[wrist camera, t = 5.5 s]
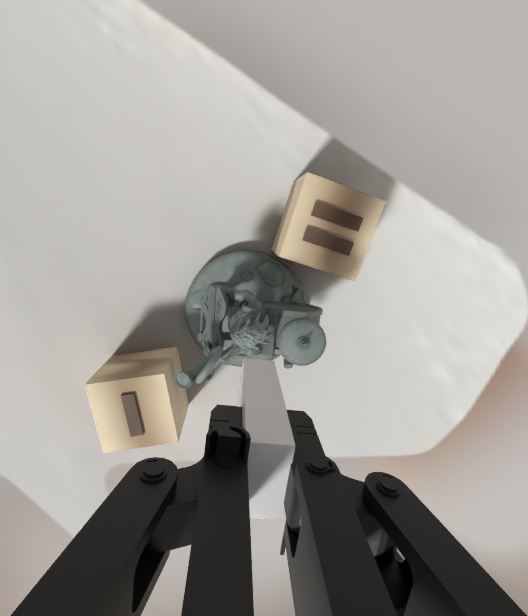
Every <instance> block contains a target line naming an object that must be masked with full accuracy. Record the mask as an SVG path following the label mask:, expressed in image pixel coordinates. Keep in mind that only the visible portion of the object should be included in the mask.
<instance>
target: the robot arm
mask: <svg viewBox="0 0 528 616" xmlns="http://www.w3.org/2000/svg"><path fill="white" fill-rule="evenodd" d="M284 507H285V512H286V524H285V529H284V534H283V539H282V545H281V552H280V554H281V555H284V552H285V547H286V552H287V558H288V566H289V572H290V580H291V587H292V593H293V601H294V607H295V614H296V616H527V615H526V614H525V613H524V612H523V611H522V610H521V609H520V608H519V607H518V605H517V604H516V603H515V602H514V601H513V600H512V599H511V598H510V597H509V596H508V595H507V594H506V593H505V591H504V590H503V589H502V588H501V587H500V586H499V585H498V584H497V583H496V582H495V581H494V580H493V578H491V576H490V575H489V574H488V573H487V572H486V571H485V570H484V569H483V568H482V567H481V566H480V565H479V563H478V562H477V561H476V560H475V559H474V558H473V557H472V556H471V555H470V554H469V553H468V552H467V551H466V549H465V548H464V547H463V546H462V545H461V544H460V543H459V542H458V541H457V540H456V539H455V538H454V536H453V535H452V534H451V533H450V532H449V531H448V530H447V529H446V528H445V527H444V526H443V524H442V523H441V522H440V521H439V520H438V519H437V518H436V517H435V516H434V515H433V514H432V513H431V512H430V510H429V509H428V508H427V507H426V506H425V505H424V504H423V503H422V502H421V501H420V500H419V499H418V497H417V496H415V494H414V493H413V492H412V491H411V490H410V489H409V488H408V487H407V486H406V485H405V484H404V483H403V482H402V481H401V480H399V479H397V478H396V477H394V476H392V475H390V474H387V473H383V472H373V473H370V474H368V475H367V477H366V478H365V482H361V481H358V480H355V479H352V478H348V477H346V476H344V475H342V474H340V471H339V469H338V467H337V465H336V464H335V463H334V462H333V461H332V460H331V459H329V458H328V457H326V456H325V454H324V451H323V448H322V446H321V443H320V440H319V438H318V435H317V432H316V430H315V428H314V424H313V422H312V419H311V418H310V417H309V416H308V415H307V414H306V413H305V412H304V411H294V410H286V406H285V403H284V399H283V395H282V391H281V387H280V383H279V379H278V375H277V371H276V367H275V363H274V361H272V360H262V359H253V358H243V364H242V371H241V379H240V386H239V394H238V401H237V406H227V405H217V406H216V407H215V408H214V409H213V410H212V411H211V417H210V424H209V430H208V433H207V435H206V444H205V453H204V457H203V458H202V459H201V460H200V461H199V462H198V463H196V464H194V465H192V466H189V467H185V468H180V469H177V467H176V465H175V464H173V462H172V461H170V460H167V459H165V458H157V457H154V458H148V459H144V460H142V461H140V462H138V463H136V464H135V465H134V466H133V467H132V468H131V469H130V470H129V471H128V473H127V474H126V475H125V476H124V478H123V479H122V480H121V481H120V482H119V483H118V485H117V486H116V487H115V488H114V490H113V491H112V492H111V493H110V495H109V496H108V497H107V498H106V499H105V501H104V502H103V503H102V504H101V506H100V507H99V508H98V509H97V510H96V512H95V513H94V514H93V515H92V517H91V518H90V519H89V520H88V521H87V523H86V524H85V525H84V526H83V528H82V529H81V530H80V531H79V532H78V534H77V535H76V536H75V537H74V539H73V540H72V541H71V542H70V544H69V545H68V546H67V547H66V549H65V550H64V551H63V552H62V553H61V555H60V556H59V557H58V558H57V560H56V561H55V562H54V563H53V564H52V566H51V567H50V568H49V570H47V572H46V573H45V574H44V576H43V577H42V578H41V579H40V580H39V582H38V583H37V584H36V586H34V588H33V589H32V590H31V591H30V593H29V594H28V595H27V596H26V597H25V599H24V600H23V601H22V603H21V604H20V605H19V606H18V607H17V608H16V610H15V611H14V612H13V613H12V615H11V616H141V613H142V611H143V609H144V607H145V605H146V603H147V601H148V599H149V597H150V595H151V592H152V590H153V588H154V586H155V584H156V582H157V580H158V578H159V576H160V574H161V571H162V569H163V567H164V565H165V563H166V561H167V559H168V557H169V553H170V550H173V549H176V548H180V547H184V546H187V545H191V544H192V545H191V552H190V559H189V566H188V573H187V580H186V587H185V593H184V600H183V608H182V615H181V616H254V609H253V584H252V560H251V537H250V518H258V519H275V520H276V519H277V520H282V517H283V511H284ZM397 548H398V549H399V551H400V552H401V554H402V555H403V556H404V558H405V560H403V559H402V558H401V556H400V555H399V554H398V552H397Z"/></svg>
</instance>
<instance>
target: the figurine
mask: <svg viewBox="0 0 528 616" xmlns="http://www.w3.org/2000/svg"><path fill="white" fill-rule="evenodd" d="M301 286H302V283H301V282H300V281H299V280H296V278H295V277H294V275H293V274H292V273H291V271H290V270H289V269H288V268H287V267H286V266H285V265H283V264H282V263H281V262H280V261H278V260H277V259H275V258H273V257H271V256H269V255H267V254H264V253H261V252H257V251H249V250H242V251H234V252H229V253H226V254H223V255H221V256H219V257H217V258H215V259H213V260H212V261H210V262H209V263H208V264H207V265H205V266H204V267H203V268H202V269H201V270H200V272H199V273H198V274H197V275H196V277H195V278H194V280H193V282H192V284H191V286H190V288H189V291H188V294H187V298H186V305H185V314H186V321H187V325H188V328H189V331H190V333H191V335H192V337H193V338H194V340H195V341H196V343H197V344H198V345H199V346H200V348H201V349H202V350H203V353H204V355H205V356H206V357H205V358H203V359H202V360H200V361H199V362H197V363H196V364H194V365H192V366H190V367H188V368H187V369H185V370H183V371H180V372H178V373H176V375H175V381H176V383H177V385H178V386H179V387H181V388H183V389H187V388H189V387H190V386H191V385H192V384H193V382H194V381H195V382H196V383H197V384H200V383H201V382H202V381H203V380H204V379H206V380H210V379H211V378H212V377H213V374H214V370H215V368H216V367H217V366H218V365H219V364H220V363H225V364H228V365H233V366H241V367H242V364H243V358H253V359H262V360H273V359H275V358H277V357H278V356H280V355H282V356H283V357H284V358H285V359H284V367H285V368H292V367H293V364H294V365H299V366H303V365H309V364H311V363H313V362H315V361H316V360H318V359H319V358H320V357H321V355H322V354H323V352H324V350H325V346H326V337H325V333H324V331H323V329H322V328H321V327H320V325H319V322H320V315H322V308H320V307H317V306H313V305H309V304H304V298H303V294H302V290H301Z"/></svg>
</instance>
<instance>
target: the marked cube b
mask: <svg viewBox="0 0 528 616" xmlns="http://www.w3.org/2000/svg"><path fill="white" fill-rule="evenodd" d="M385 203H386V201H385V200H382V199H379V198H377V197H374V196H371V195H368V194H366V193H363V192H360V191H358V190H355V189H352V188H349V187H347V186H344V185H341V184H339V183H336V182H333V181H330V180H328V179H325V178H322V177H320V176H317V175H314V174H311V173H309V172H307V173H305V174H304V175H302V176H301V177H300V178H298V179H297V180H295V181H294V182H293V185H292V188H291V191H290V194H289V197H288V200H287V203H286V206H285V209H284V213H283V216H282V219H281V222H280V225H279V228H278V231H277V234H276V237H275V240H274V243H273V246H272V249H271V250H272V251H273V252H274V253H275V254H277V255H278V256H279V257H282V258H285V259H288V260H291V261H294V262H297V263H300V264H303V265H306V266H309V267H313V268H316V269H319V270H322V271H325V272H328V273H331V274H334V275H337V276H340V277H343V278H346V279H349V280H352V281H356V278H357V275H358V273H359V270H360V268H361V265H362V263H363V260H364V257H365V255H366V252H367V250H368V247H369V245H370V242H371V239H372V237H373V234H374V232H375V229H376V227H377V224H378V221H379V219H380V216H381V214H382V211H383V209H384V206H385Z"/></svg>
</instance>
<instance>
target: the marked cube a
mask: <svg viewBox="0 0 528 616" xmlns="http://www.w3.org/2000/svg"><path fill="white" fill-rule="evenodd" d="M180 371H182V366H181V361H180V356H179V350H178V346H177V347H170V348H162V349H155V350H148V351H140V352H133V353H126V354H118V355H112V356H111V357H110V358H109V359H108V361H107V362H106V363H105V364H104V365H103V366H102V367H101V368H100V369H99V370H98V371H97V372H96V373H95V374H94V375H93V376H92V377H91V378H90V379H89V380H88V382H87V383H86V384H85V389H86V392H87V396H88V400H89V403H90V407H91V411H92V414H93V418H94V422H95V425H96V429H97V433H98V436H99V440H100V444H101V447H102V451H103V453H106V452H113V451H120V450H126V449H133V448H140V447H147V446H154V445H161V444H167V443H174V442H178V441H179V438H180V434H181V431H182V427H183V423H184V420H185V416H186V412H187V409H188V405H189V402H188V397H187V392H186V389H183V388H181V387H179V386H178V385H177V383H176V381H175V375H176V373H178V372H180Z"/></svg>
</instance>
